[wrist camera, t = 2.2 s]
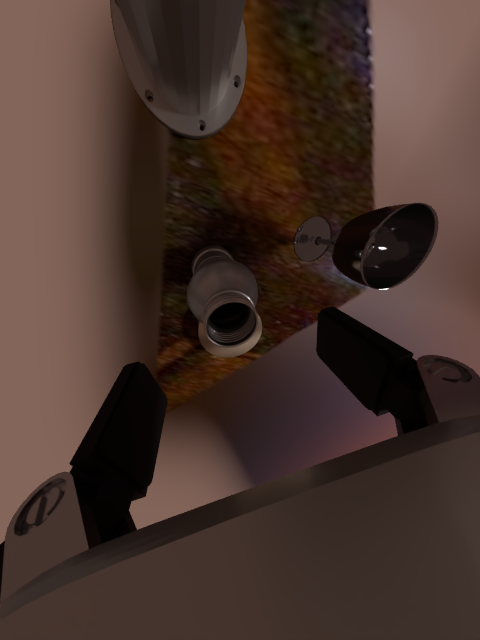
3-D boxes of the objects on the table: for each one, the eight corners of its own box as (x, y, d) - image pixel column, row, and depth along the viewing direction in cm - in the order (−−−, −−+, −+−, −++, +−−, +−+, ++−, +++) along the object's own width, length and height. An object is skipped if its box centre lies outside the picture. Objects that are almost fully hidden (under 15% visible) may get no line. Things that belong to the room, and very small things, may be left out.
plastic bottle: (183, 264, 27) (154, 330, 10) (213, 233, 26) (239, 249, 9) (212, 291, 30) (226, 377, 13) (240, 265, 29) (296, 322, 12)
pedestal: (189, 306, 31) (188, 313, 28) (252, 289, 32) (257, 295, 29) (208, 354, 37) (209, 364, 34) (260, 339, 38) (265, 347, 35)
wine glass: (323, 201, 27) (435, 178, 14) (340, 242, 31) (441, 254, 18) (283, 237, 28) (352, 247, 15) (304, 272, 32) (373, 303, 19)
